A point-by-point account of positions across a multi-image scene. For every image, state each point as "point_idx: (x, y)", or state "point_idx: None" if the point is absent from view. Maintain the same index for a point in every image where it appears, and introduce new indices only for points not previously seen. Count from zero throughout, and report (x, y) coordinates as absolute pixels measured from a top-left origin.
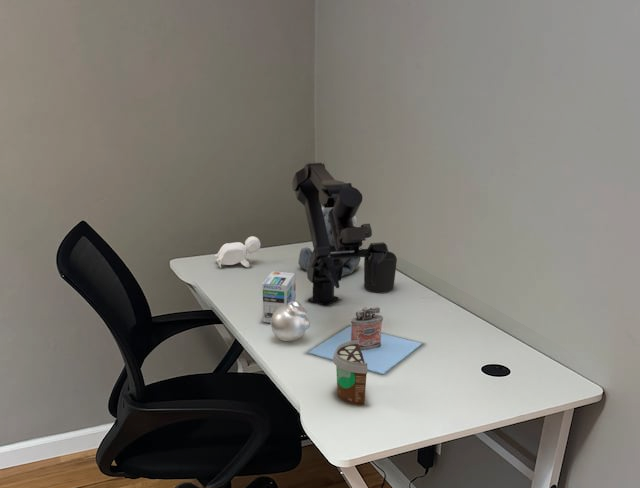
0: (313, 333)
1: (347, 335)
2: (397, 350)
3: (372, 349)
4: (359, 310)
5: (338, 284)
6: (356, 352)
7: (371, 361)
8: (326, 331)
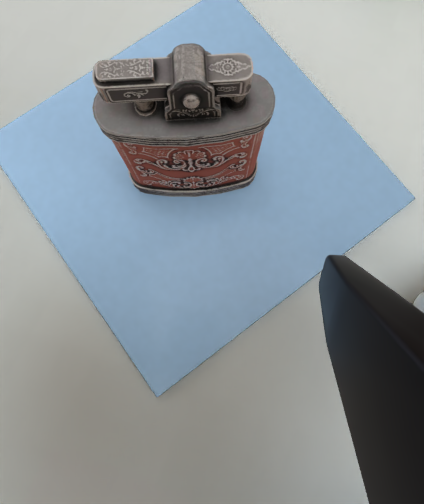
0: None
1: (215, 296)
2: None
3: None
4: (229, 75)
5: (340, 261)
6: None
7: None
8: (279, 378)
